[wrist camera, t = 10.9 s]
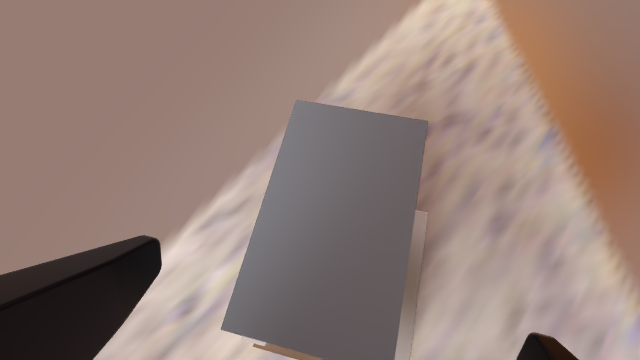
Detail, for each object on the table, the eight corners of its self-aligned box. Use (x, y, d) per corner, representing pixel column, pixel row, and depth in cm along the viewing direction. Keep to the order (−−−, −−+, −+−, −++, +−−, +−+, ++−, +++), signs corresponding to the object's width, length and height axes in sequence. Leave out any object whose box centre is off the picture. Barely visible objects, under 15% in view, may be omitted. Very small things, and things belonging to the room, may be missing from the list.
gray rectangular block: (360, 341, 16) (391, 378, 5) (300, 325, 16) (220, 329, 6) (381, 223, 18) (433, 85, 8) (328, 211, 19) (307, 67, 8)
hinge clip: (394, 384, 16) (409, 404, 12) (258, 345, 17) (232, 351, 13) (415, 227, 19) (433, 202, 15) (298, 202, 20) (287, 173, 16)
